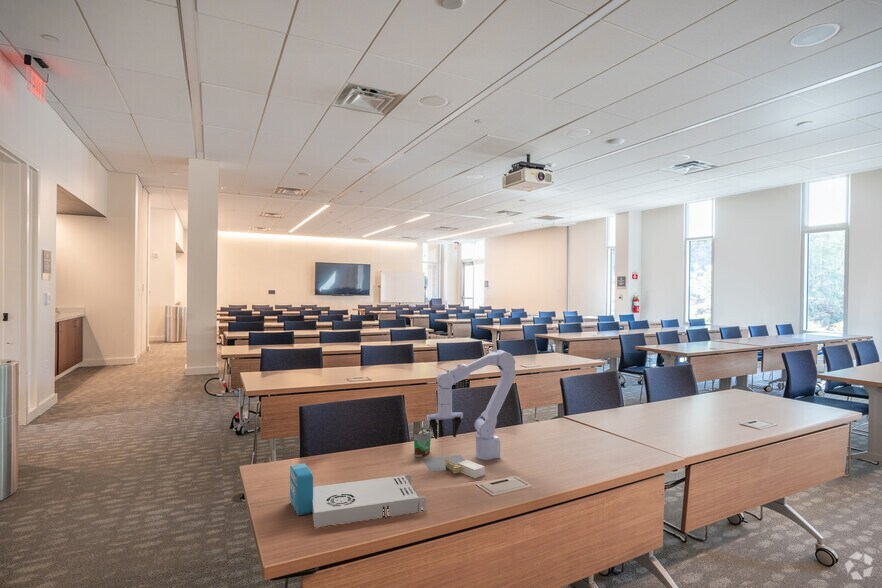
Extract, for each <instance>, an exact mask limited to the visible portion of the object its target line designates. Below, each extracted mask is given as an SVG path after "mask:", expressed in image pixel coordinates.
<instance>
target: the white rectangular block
mask: <svg viewBox="0 0 882 588" xmlns="http://www.w3.org/2000/svg"><path fill="white" fill-rule="evenodd" d="M459 465H460V466H462V472H460V473H461V474H464V475H466V476H469V477H471V478H473V479H478V478H479V477H482V476H485V475H486V470H485V469H486V467H485V465H482V464H479V463H477V462H474V461H471V460H469V459H466V460H465V461H462V462H459V463H458V466H459Z"/></svg>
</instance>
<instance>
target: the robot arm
mask: <svg viewBox="0 0 882 588" xmlns="http://www.w3.org/2000/svg"><path fill="white" fill-rule="evenodd" d="M488 366H494V367H498V369H499V372H500V375H501V376H500V378H499V381H498V383H497V384H496V387H495V389H494V391H493V393H492V395H491V397H490V399H489V402H488V403H487V405H486V408H485V410H483V412H481V413H480V415H479V417H478V418H477V419H476V420H475V421H474V429H475V430H476V434H475V458H476V459H478V460H482V461H483V460H484V461H485V460H486V461H487V460H492V459H498V458H499V459H501V441H500V437H499V436H498V435H495V433H496V425H497V423H498V418H497V417H498V415H499V413H500V411H501V408H502V406H503V405H504V403H505V400H506V398H507V396H508V394H509V393H510V389H511V387H512V386H513V384H514V381H515V379H516V376H517V375H516V360H515V358H514V356H513V354H512V353H510V352H508V351H505V350H502V349H497V350H495V351H491V352H489V353H488V354H486V355H484V356H482V357H480V358H478V359H476V360H474V361H472V362H470V363H468V364H466V363H457V364H456V366H454V367H453V368H451V369H449V368H447V369H446V370H445V371H442V372H440V373H438V375H437V376H436V379H435V381H436V384H437V413H430V414H426V421H427V422H429V424H430V427H431V431H432V435H433V438H434V439H435V440H437V439H438V422H437V420H438V421H439V420H440V421H441V420H451V422H452V423H451V424H452V437H453V438H456V437H457V433H458V429H459V427H460V425H461V423H462V419H464V412H461V411H460V412H458V411H456V412H453V390H452V386H453V385H454V384H456V383H459V382H460V381H463V380H465V379H467V378H469V377H470V375H471V373H472V372H475V371H478V370H480V369H482V368H485V367H488Z"/></svg>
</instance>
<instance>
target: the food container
mask: <svg viewBox="0 0 882 588" xmlns="http://www.w3.org/2000/svg"><path fill="white" fill-rule="evenodd" d="M432 437H433V430H432V428H431V429H430V428H429V427H424V426H420V430H418V431H417V432H416V433H415V434H413V442H414V443H413V444H414V445H413V446H414V447H413V449H414V457H416V458H417V457H426V456H428V455H430V453H431V440H432V439H431V438H432Z"/></svg>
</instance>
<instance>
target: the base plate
mask: <svg viewBox="0 0 882 588" xmlns="http://www.w3.org/2000/svg"><path fill="white" fill-rule="evenodd" d="M446 459H450V460H451V462H452V463H454V464H456V465H457V466H458V463H459V462H462V461H466V460H465V458H464V457H463V456H462V455H460V454H455V455H448V456H447V455H445V456H437V457H436V456H435V457H426V458H421V460H422V462H423V463H424V465H425V466H426V468H427V469H428V471H430V473H433V472H440V471H451V470H450V469H446V468H445V460H446Z"/></svg>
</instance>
